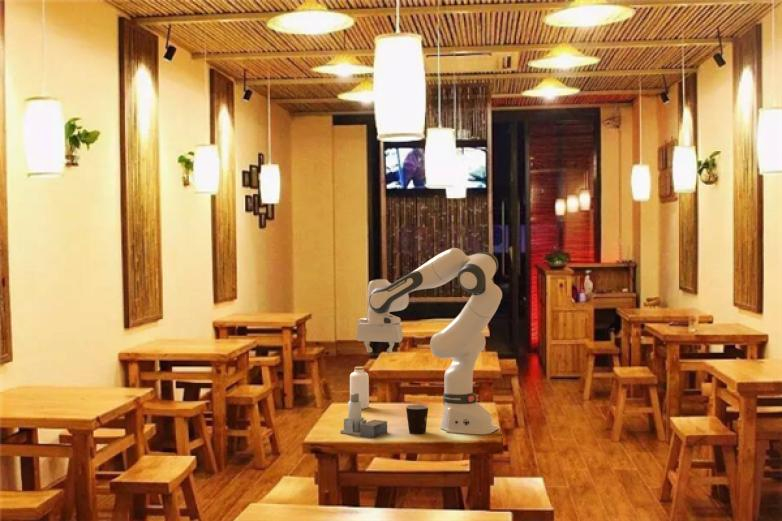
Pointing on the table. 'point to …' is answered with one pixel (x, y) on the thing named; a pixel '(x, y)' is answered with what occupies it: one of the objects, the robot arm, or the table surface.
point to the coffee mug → (417, 418)
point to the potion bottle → (360, 386)
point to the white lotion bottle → (355, 410)
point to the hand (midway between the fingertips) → (379, 352)
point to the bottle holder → (365, 428)
